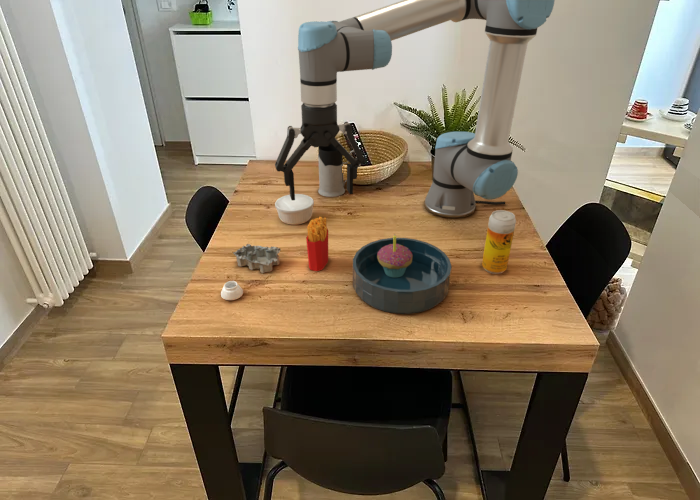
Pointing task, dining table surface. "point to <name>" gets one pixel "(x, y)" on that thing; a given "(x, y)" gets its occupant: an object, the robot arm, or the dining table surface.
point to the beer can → (498, 241)
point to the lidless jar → (231, 291)
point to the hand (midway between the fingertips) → (321, 194)
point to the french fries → (317, 244)
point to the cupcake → (394, 259)
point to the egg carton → (258, 257)
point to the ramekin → (295, 209)
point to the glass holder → (331, 171)
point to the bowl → (402, 278)
